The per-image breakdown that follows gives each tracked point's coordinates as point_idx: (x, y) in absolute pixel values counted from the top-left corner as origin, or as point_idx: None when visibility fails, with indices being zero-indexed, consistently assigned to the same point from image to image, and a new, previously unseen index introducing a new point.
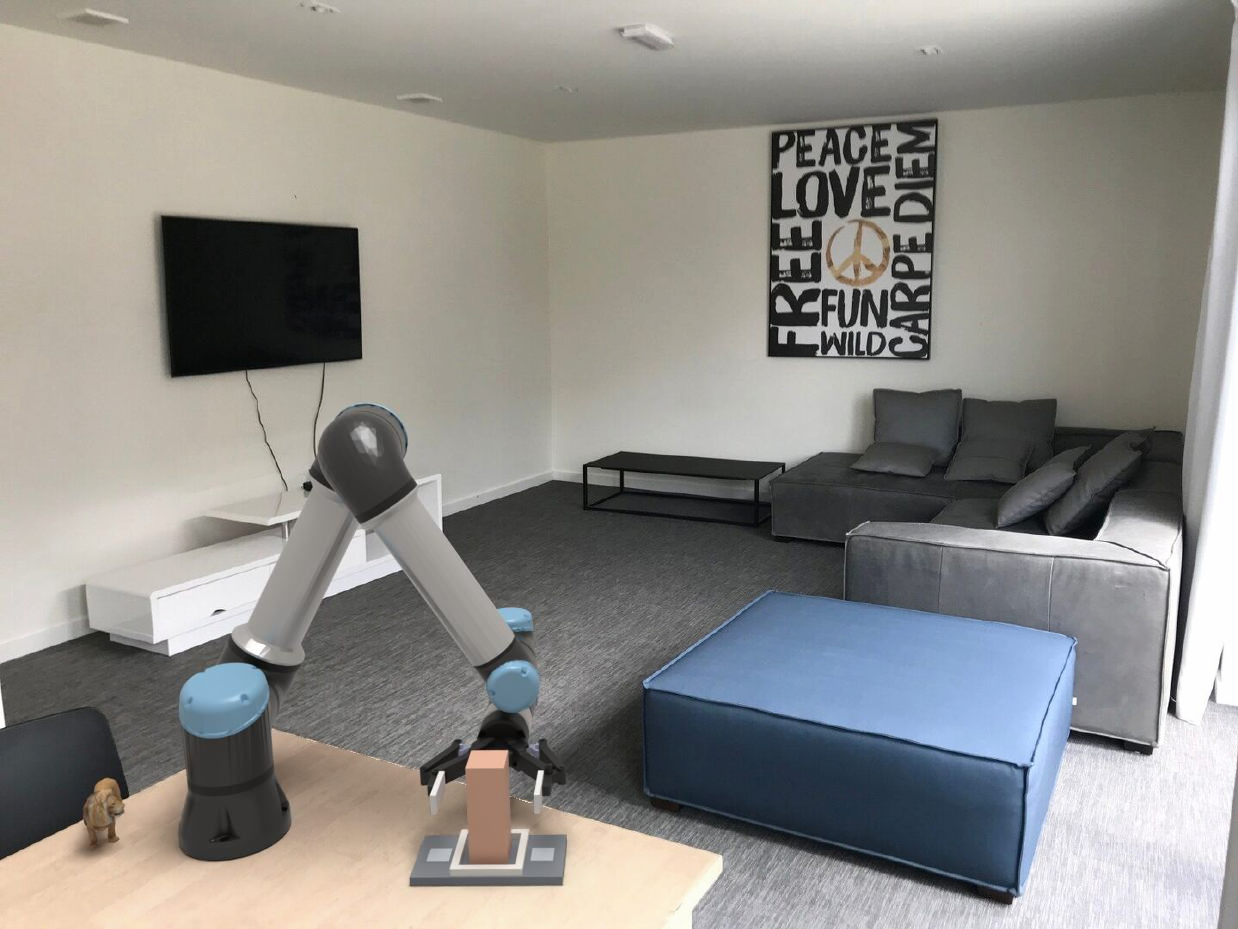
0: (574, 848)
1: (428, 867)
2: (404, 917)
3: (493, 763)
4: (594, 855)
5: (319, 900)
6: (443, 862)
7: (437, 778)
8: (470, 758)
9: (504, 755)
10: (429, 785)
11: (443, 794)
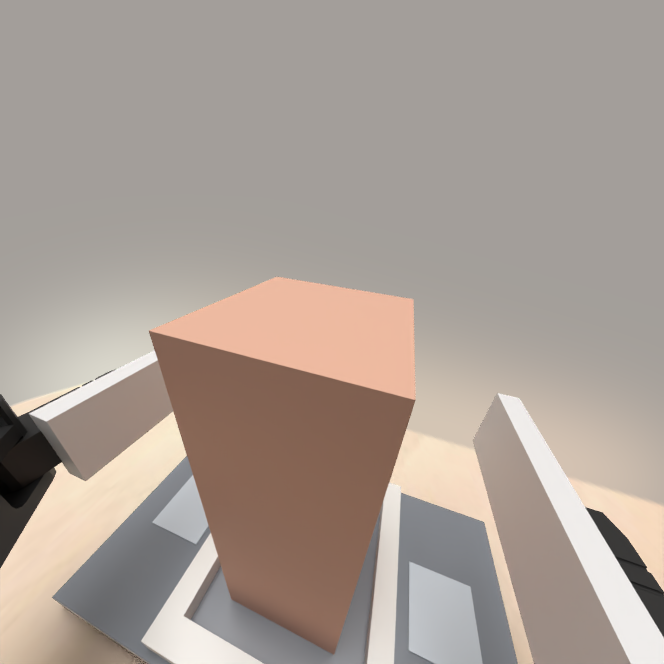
0: (84, 558)
1: (454, 552)
2: (450, 446)
3: (299, 290)
4: (85, 505)
5: (653, 548)
6: (421, 564)
7: (595, 534)
8: (403, 331)
9: (217, 307)
10: (608, 528)
11: (518, 601)
